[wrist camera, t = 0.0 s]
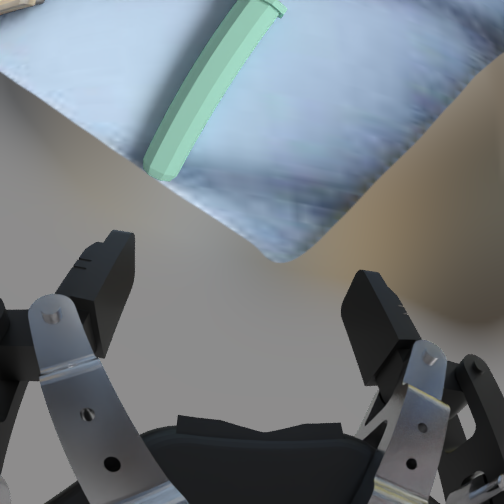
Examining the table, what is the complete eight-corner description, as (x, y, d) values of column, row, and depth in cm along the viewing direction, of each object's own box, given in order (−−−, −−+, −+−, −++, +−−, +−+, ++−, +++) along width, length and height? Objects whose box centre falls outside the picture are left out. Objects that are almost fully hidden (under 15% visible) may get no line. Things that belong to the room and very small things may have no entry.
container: (159, 193, 33) (281, -2, 22) (125, 166, 34) (234, -20, 22) (185, 185, 39) (292, 18, 28) (153, 161, 39) (251, 0, 28)
